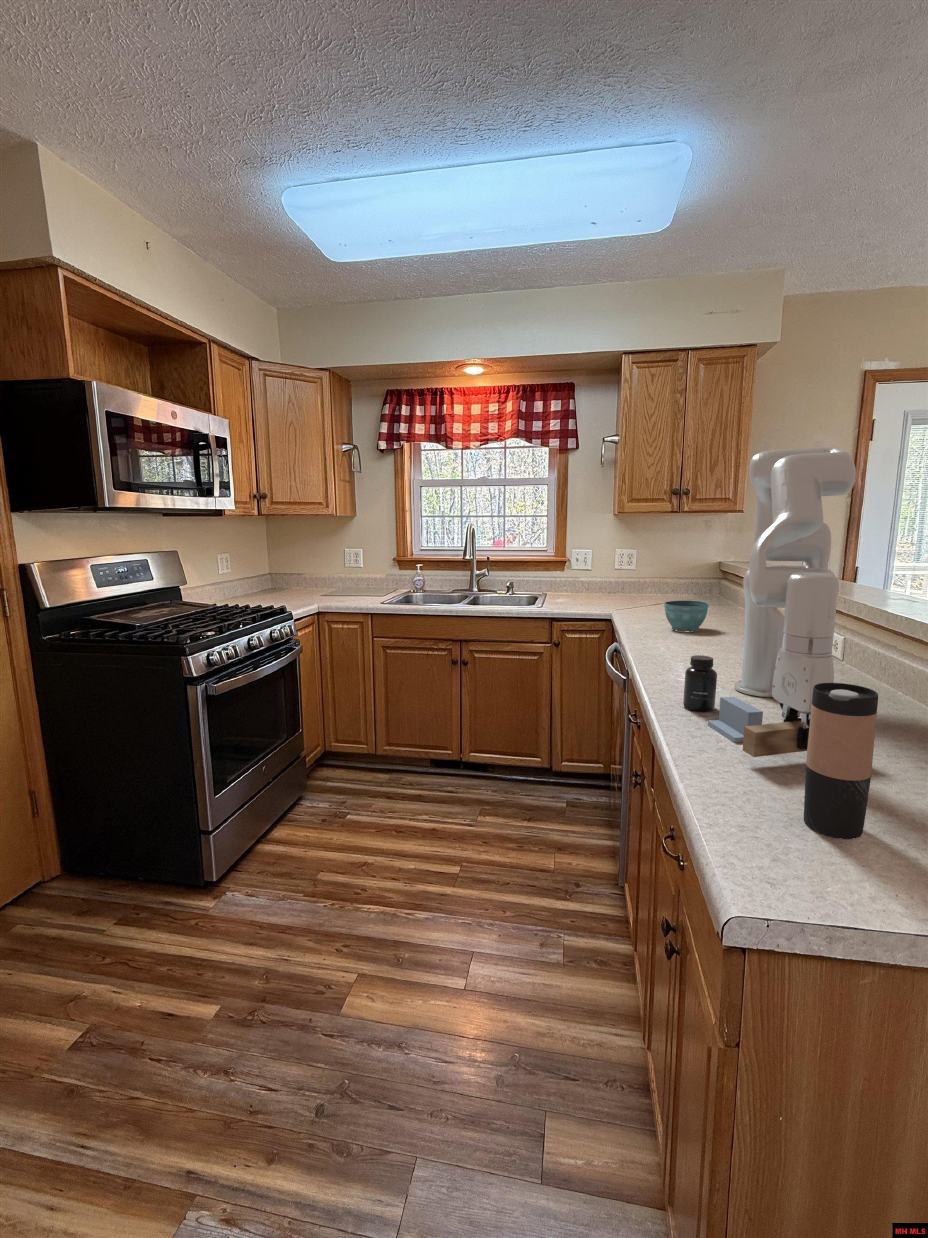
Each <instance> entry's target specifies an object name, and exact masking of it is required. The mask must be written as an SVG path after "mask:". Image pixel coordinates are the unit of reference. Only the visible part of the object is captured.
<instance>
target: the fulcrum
mask: <svg viewBox="0 0 928 1238" xmlns="http://www.w3.org/2000/svg"><path fill="white" fill-rule="evenodd" d="M718 715H719V716H718V719H713V720H711V719H710V720H707V726H708V727H710V728H712V730H714V731H716V732H717V733H719V734H720V735H722V736H723V737H724V738H727V739H728V740H730V741H731V742H733V743H735V744H736V743H743V736H744V726H753V725H763V715H764V711H762V710H760V709H758V708H756V707H754V706H753V705H750V704H749V703H747V702H745V701H744V700H741V699H739V698H738V697H736V696H721V697H720V698H719V713H718Z"/></svg>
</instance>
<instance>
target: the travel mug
mask: <svg viewBox="0 0 928 1238" xmlns="http://www.w3.org/2000/svg"><path fill="white" fill-rule="evenodd" d="M878 704H879V694H878V692H877V691H876V690H874V689H871V688H868V687H865V686H862V685H858V684H857V685H856V684H852V683H842V682H834V683H820V684H816V685H815V686H814V687H813V695H812V706H811V714H810V716H809V719H810V727H809V738H808V748H807V751H806V761H805V777H804V778H805V780H804V781H805V782H804V797H803V798H804V799H803V800H804V801H803V822H804V824H805V825H806V826H807V828H809V829H811V830H812V831H814V832H816V833H818V832H819V833H818V834H820V833H821V834H820V835H823V834H824V835H823V836H826V837H829V836H830V837H829V838H833V837H834V839H838V838H842V839H841V840H853V839H852V838H855V839H859V838H860V837H862V835H863V832H864V827H865V822H866V821H865V820H866V816H867V815H866V814H867V806H868V801H869V794H870V787H871V786H870V785H871V780H872V772H873V759H874V748H875V740H876V739H875V737H876V727H877V716H878V715H877V714H878Z"/></svg>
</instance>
